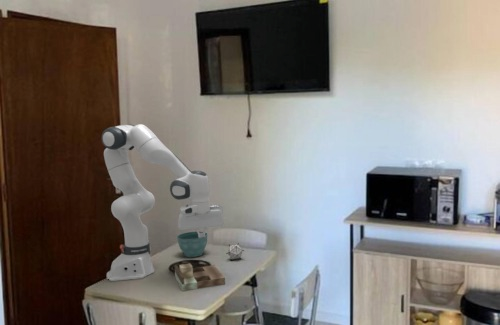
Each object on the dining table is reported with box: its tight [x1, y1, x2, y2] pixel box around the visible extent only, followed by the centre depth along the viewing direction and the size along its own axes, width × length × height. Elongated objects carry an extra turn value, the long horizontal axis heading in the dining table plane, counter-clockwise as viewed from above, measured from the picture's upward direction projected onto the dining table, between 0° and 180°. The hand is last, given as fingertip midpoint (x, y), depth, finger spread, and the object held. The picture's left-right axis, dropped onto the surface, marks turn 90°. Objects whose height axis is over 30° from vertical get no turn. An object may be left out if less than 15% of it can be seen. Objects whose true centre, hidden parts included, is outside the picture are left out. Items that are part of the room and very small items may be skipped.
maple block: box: [178, 262, 194, 279], centre depth 226 cm, size 5×5×5 cm
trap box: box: [173, 264, 226, 292], centre depth 228 cm, size 19×19×6 cm
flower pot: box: [176, 231, 208, 258], centre depth 268 cm, size 16×16×11 cm
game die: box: [225, 242, 245, 262], centre depth 256 cm, size 9×8×10 cm
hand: (201, 237), depth 227 cm, fingers closed
